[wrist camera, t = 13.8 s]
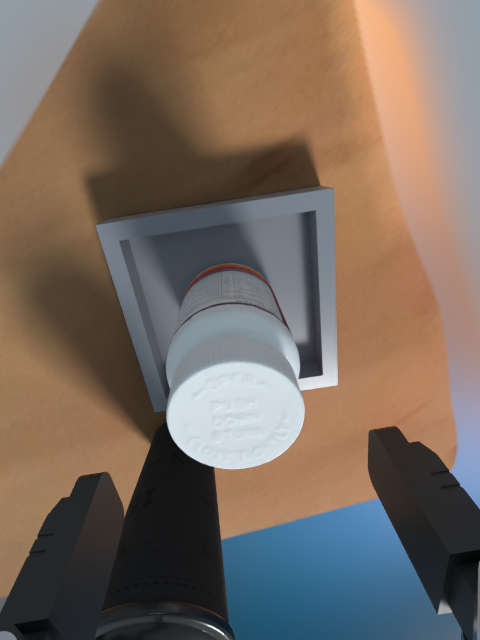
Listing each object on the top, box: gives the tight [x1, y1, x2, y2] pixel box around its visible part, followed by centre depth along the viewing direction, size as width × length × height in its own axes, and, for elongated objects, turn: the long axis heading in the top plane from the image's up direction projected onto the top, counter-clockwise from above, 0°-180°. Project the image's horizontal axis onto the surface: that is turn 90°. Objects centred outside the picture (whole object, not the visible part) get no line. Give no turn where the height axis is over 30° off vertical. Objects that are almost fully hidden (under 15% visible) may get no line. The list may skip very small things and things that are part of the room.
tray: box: [95, 186, 338, 412], centre depth 22 cm, size 13×13×2 cm
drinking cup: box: [94, 423, 236, 640], centre depth 19 cm, size 8×8×20 cm
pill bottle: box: [166, 263, 305, 469], centre depth 17 cm, size 6×6×11 cm
